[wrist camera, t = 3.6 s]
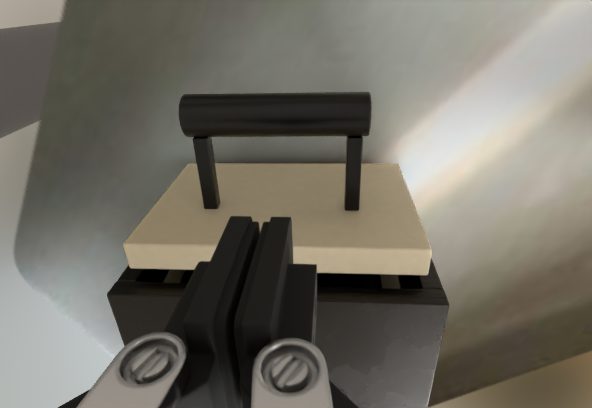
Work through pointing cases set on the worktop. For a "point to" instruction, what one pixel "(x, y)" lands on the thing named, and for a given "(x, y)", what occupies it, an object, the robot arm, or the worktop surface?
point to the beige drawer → (286, 194)
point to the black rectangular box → (331, 332)
